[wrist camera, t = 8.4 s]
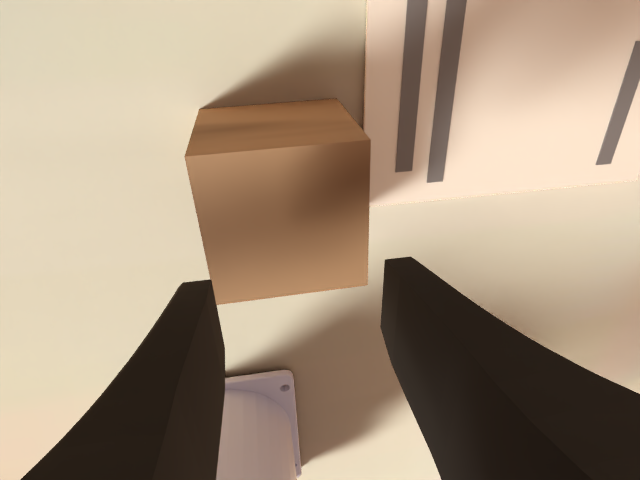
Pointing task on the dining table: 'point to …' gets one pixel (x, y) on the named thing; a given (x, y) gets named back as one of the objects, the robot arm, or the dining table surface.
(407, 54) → the flyer
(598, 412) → the robot arm
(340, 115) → the walnut cube
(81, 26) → the dining table surface
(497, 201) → the dining table surface
